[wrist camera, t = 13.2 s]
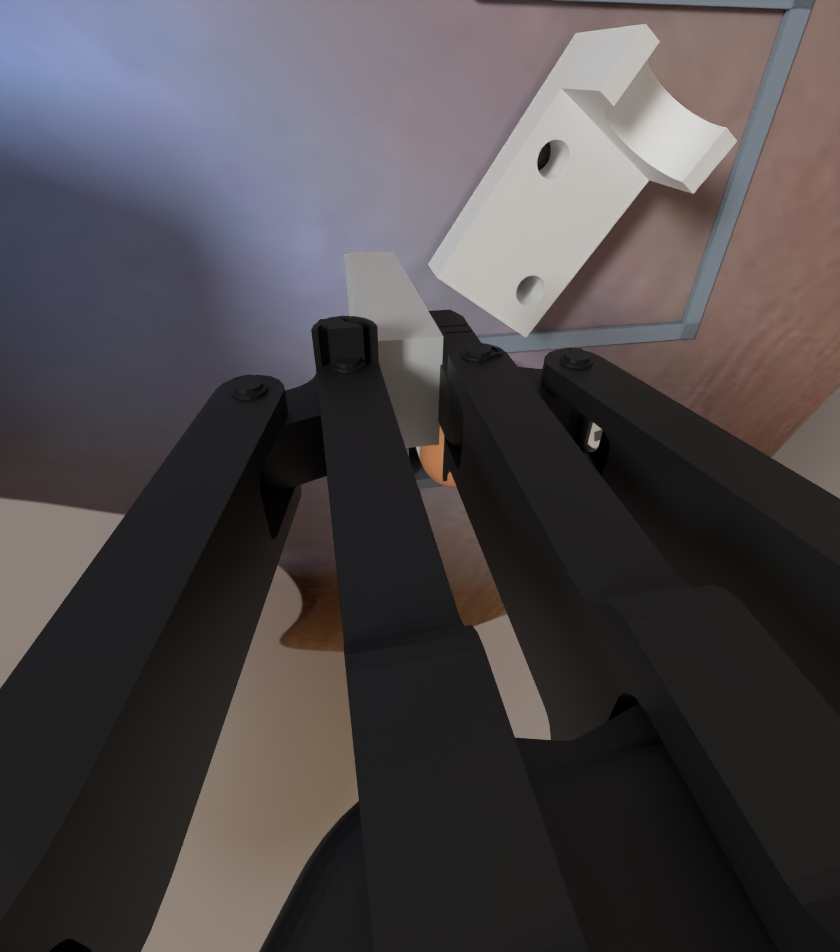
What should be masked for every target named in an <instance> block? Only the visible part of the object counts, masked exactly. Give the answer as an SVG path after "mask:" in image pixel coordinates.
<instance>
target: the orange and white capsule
mask: <svg viewBox="0 0 840 952" xmlns="http://www.w3.org/2000/svg"><path fill="white" fill-rule="evenodd" d="M416 449H417V452H418V455H419V458H420V461H421V464H422V466H423V468H424V470H425V471H426V473H427V474H428V475H429V476H430V477H431V478H432V479H433V480H435V481H436V482H438V483H439V484H441V485H444V486H447V487H452V488H457V487H456V484H455V482H454V479H453V477H452V474H451V472H449V474H448V478H447V481H443V477H442V474H443V453H444V433H443V431H442V429H441V426H440V432H439V445H430V446H421V447H416Z"/></svg>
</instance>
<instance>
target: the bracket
mask: <svg viewBox="0 0 840 952" xmlns="http://www.w3.org/2000/svg"><path fill="white" fill-rule="evenodd" d="M659 42H660V41H659V40H658V39H657V38H656V36H655V35H654V34H653V32H652V31H651V30H650V29H649V27H648V26H647V25H646V24H642V25H634V26H626V27H619V28H611V29H604V30H596V31H589V32H581V33H575V35H574V37H573V38H572V40H571V41H570V43H569V44H568V46H567V48H566V49H565V51H564V52H563V54H562V55H561V57H560V58H559V60H558V62H557V63H556V65H555V66H554V68H553V69H552V71H551V73H550V74H549V76H548V77H547V79H546V80H545V82H544V84H543V85H542V87H541V88H540V90H539V91H538V93H537V94H536V96H535V98H534V99H533V101H532V102H531V104H530V105H529V107H528V109H527V110H526V112H525V113H524V115H523V116H522V118H521V119H520V121H519V123H518V124H517V126H516V127H515V129H514V130H513V132H512V134H511V135H510V137H509V138H508V140H507V141H506V143H505V145H504V146H503V148H502V149H501V151H500V152H499V154H498V155H497V157H496V159H495V160H494V162H493V163H492V165H491V166H490V168H489V170H488V171H487V173H486V174H485V176H484V177H483V179H482V180H481V182H480V184H479V185H478V187H477V188H476V190H475V191H474V193H473V195H472V196H471V198H470V199H469V201H468V202H467V204H466V205H465V207H464V209H463V210H462V212H461V213H460V215H459V216H458V218H457V220H456V221H455V223H454V224H453V226H452V227H451V229H450V231H449V232H448V234H447V235H446V237H445V238H444V240H443V241H442V243H441V245H440V246H439V248H438V249H437V251H436V252H435V254H434V256H433V257H432V259H431V260H430V262H429V263H428V265H429V267H430V268H431V270H432V271H433V273H434V274H435V275H436V277H437V278H438V279H440V280H441V281H443V282H444V283H446V284H447V285H449V286H450V287H451V288H453V289H454V290H456V291H457V292H459V293H460V294H462V295H463V296H465V297H466V298H468V299H469V300H471V301H472V302H474V303H475V304H477V305H478V306H480V307H481V308H483V309H484V310H485V311H487V312H488V313H490V314H491V315H493V316H494V317H496V318H497V319H499V320H500V321H502V322H503V323H505V324H506V325H508V326H509V327H511V328H512V329H514V330H515V331H517V332H518V333H519V334H521V335H522V336H524V337H525V338H526V337H527V336H528V335H529V333H530V332H531V331H532V330H533V328H534V327H535V326H536V324H537V323H538V322H539V321H540V319H541V318H542V317H543V316H544V314H545V313H546V312H547V310H548V309H549V308H550V307H551V305H552V304H553V303H554V301H555V300H556V299H557V298H558V296H559V295H560V294H561V293H562V291H563V290H564V289H565V287H566V286H567V285H568V284H569V282H570V281H571V280H572V279H573V277H574V276H575V275H576V273H577V272H578V271H579V270H580V268H581V267H582V266H583V264H584V263H585V262H586V261H587V259H588V258H589V257H590V256H591V254H592V253H593V252H594V250H595V249H596V248H597V247H598V245H599V244H600V243H601V241H602V240H603V239H604V238H605V236H606V235H607V234H608V233H609V231H610V230H611V229H612V227H613V226H614V225H615V224H616V222H617V221H618V220H619V218H620V217H621V216H622V215H623V213H624V212H625V211H626V210H627V208H628V207H629V206H630V204H631V203H632V202H633V201H634V199H635V198H636V197H637V195H638V194H639V193H640V192H641V190H642V189H643V188H644V187H645V185H646V184H647V183H648V181H652V182H656V183H659V184H662V185H665V186H669V187H672V188H675V189H678V190H682V191H685V192H688V193H691V194H694V193H695V192H696V190H697V189H698V188H699V187H700V186H701V184H702V183H703V182H704V181H705V179H706V178H707V177H708V176H709V175H710V173H711V172H712V171H713V170H714V169H715V167H716V166H717V165H718V164H719V163H720V161H721V160H722V159H723V158H724V157H725V155H726V154H727V153H728V152H729V151H730V149H731V148H732V147H733V146H734V145H735V143H736V142H737V140H736V139H735V138H734V136H733V135H732V134H731V133H730V131H729V130H728V129H727V128H726V127H721V126H718V125H715V124H712V123H710V122H707V121H705V120H703V119H702V118H700V117H698V116H696V115H695V114H693V113H692V112H690V111H689V110H687V109H686V108H685V107H683V106H682V105H681V104H680V103H678V102H677V101H676V100H675V99H674V98H673V97H672V96H671V95H670V94H669V93H668V92H667V91H666V90H665V89H664V88H663V87H662V85H661V84H660V83H659V81H658V80H657V79H656V77H655V76H654V74H653V72H652V70H651V68H650V66H649V63H648V60H647V59H648V58H649V56H650V55H651V53H652V52H653V51H654V49H655V48H656V46H657V45H658V44H659ZM548 142H549V143H550V148H551V153H550V157H549V160H548V162H547V164H546V165H545V166H544V167H543V168H542V169H541V170H539V171H538V167H537V160H538V155H539V153H540V151H541V149H542V148H543V146H544V145H545V144H546V143H548ZM522 280H523V281H522ZM521 281H522V282H521ZM520 282H521V283H520Z"/></svg>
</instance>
